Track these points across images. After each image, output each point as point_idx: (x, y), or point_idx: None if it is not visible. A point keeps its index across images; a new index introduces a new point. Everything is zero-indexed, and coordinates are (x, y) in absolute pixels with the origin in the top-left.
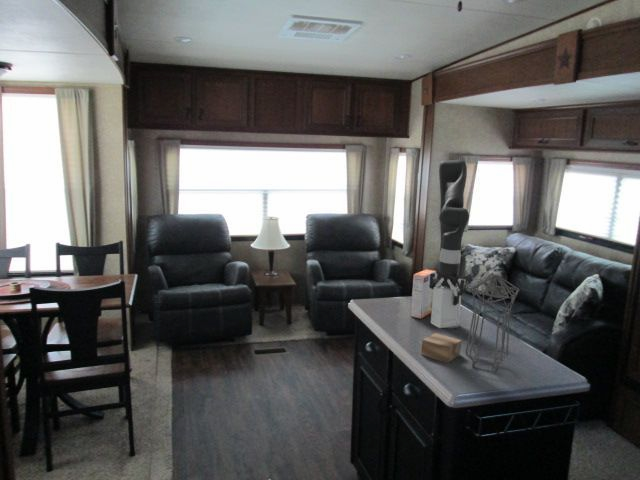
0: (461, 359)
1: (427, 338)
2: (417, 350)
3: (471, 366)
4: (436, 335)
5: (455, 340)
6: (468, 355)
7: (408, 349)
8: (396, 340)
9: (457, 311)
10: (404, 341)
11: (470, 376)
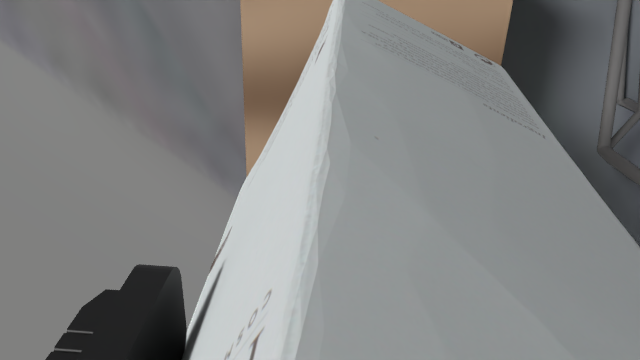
0: (522, 25)
1: (260, 139)
2: (213, 95)
3: (617, 103)
4: (279, 13)
5: (470, 6)
6: (630, 179)
7: (163, 121)
8: (3, 30)
9: (562, 147)
10: (48, 4)
11: (633, 234)
